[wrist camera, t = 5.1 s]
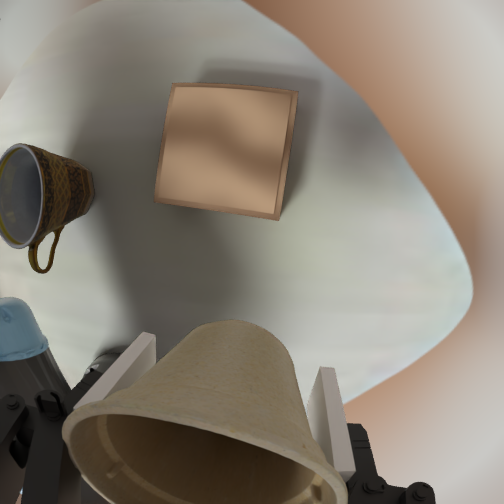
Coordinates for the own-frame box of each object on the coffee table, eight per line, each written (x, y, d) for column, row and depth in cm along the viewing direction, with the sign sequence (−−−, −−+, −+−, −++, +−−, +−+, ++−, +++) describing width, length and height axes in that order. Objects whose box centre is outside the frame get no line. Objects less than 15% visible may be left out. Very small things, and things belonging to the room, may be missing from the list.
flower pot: (149, 270, 14) (24, 357, 5) (342, 297, 13) (403, 435, 5) (157, 408, 16) (100, 509, 8) (304, 433, 15) (305, 553, 7)
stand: (279, 216, 27) (278, 221, 23) (169, 199, 28) (152, 202, 24) (297, 103, 24) (298, 90, 21) (186, 94, 25) (171, 82, 22)
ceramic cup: (44, 165, 29) (-14, 166, 19) (99, 136, 27) (37, 125, 18) (63, 261, 31) (8, 284, 22) (120, 247, 30) (62, 271, 20)
